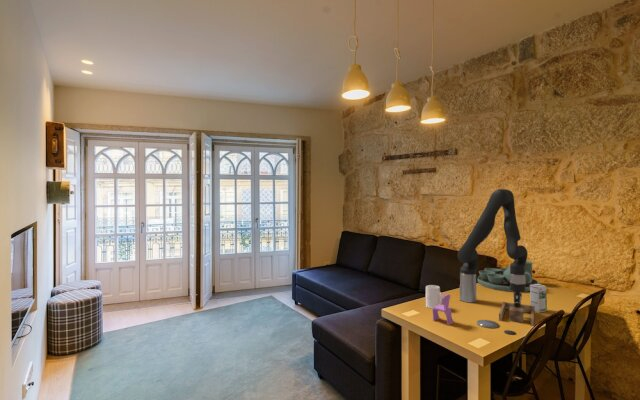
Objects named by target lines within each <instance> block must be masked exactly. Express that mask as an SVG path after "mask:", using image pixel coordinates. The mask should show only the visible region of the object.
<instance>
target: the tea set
mask: <svg viewBox="0 0 640 400" xmlns="http://www.w3.org/2000/svg"><path fill="white" fill-rule="evenodd" d="M533 263H534V262H533V261H531V260H526V264H525V289H526V290H525V292H524V293H528V292H529V291H530V285H533V284H541V283H540V282H539V281H538V280H537V279H534V278H533ZM478 273H479V276H478V277H477V283H478V284H479V285H481V286H482V287H485V288H489V289H492V290H495V291H503V292H510V293H511V292H512V293H515V291H512V290H510V266H508V265H505V267H501V268H495V267H494V268H493V267H485V268H484V270H478ZM529 293H530V292H529Z"/></svg>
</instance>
